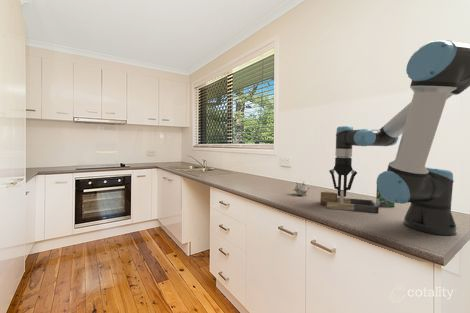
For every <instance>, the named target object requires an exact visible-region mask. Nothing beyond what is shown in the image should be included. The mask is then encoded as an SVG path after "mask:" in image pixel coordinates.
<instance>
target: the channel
mask: <svg viewBox="0 0 470 313" xmlns="http://www.w3.org/2000/svg"><path fill="white" fill-rule="evenodd" d="M379 208H380V207H378V206H377V205H376V202H374V200H373V199H362V198H361V199H360V198H351V197H349V198H348V197H344V198H343V203H340V197H339V196H337V203H336V202H327V206H326V209H332V210H343V211H352V212H362V213H369V214H379V210H380V209H379Z"/></svg>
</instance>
